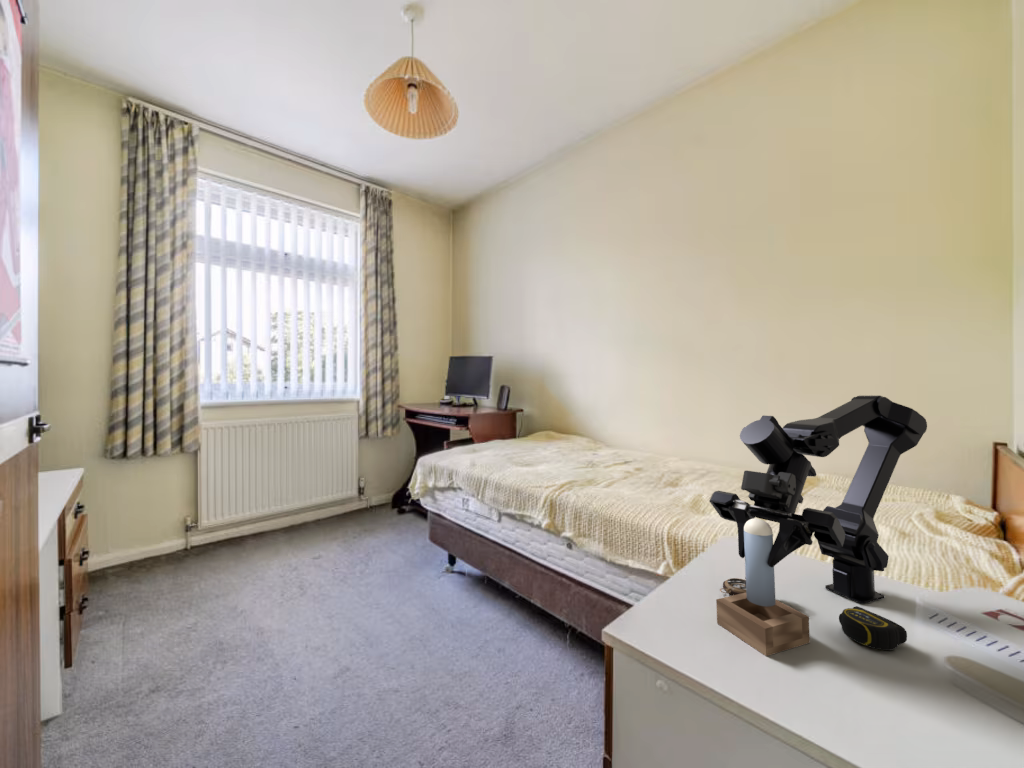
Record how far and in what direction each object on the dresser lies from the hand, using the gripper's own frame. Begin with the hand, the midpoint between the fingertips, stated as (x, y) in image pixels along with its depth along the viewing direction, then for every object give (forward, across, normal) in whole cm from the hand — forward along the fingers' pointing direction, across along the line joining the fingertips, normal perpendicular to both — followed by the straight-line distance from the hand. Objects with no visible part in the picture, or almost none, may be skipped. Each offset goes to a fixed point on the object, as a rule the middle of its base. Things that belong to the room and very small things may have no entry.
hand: (754, 560), depth 65 cm
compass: (+1, -8, +16) cm, 19 cm away
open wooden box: (+7, 0, +9) cm, 12 cm away
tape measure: (-1, +10, +18) cm, 21 cm away
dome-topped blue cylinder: (+4, 0, +6) cm, 7 cm away
